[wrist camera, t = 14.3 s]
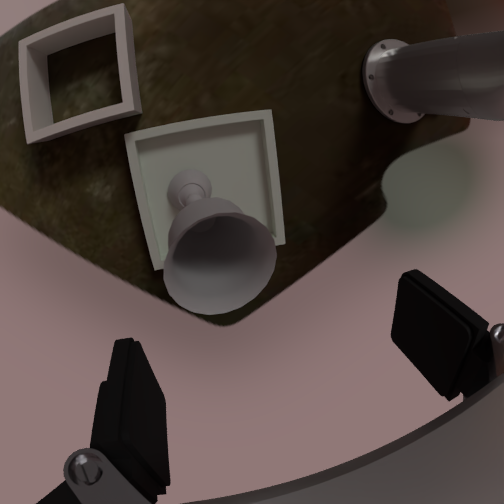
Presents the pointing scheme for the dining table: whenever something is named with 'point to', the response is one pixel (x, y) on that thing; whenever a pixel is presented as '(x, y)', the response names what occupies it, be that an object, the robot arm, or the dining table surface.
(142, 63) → the dining table surface
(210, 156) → the tray
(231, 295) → the chalice
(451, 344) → the robot arm
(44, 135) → the sleeve
